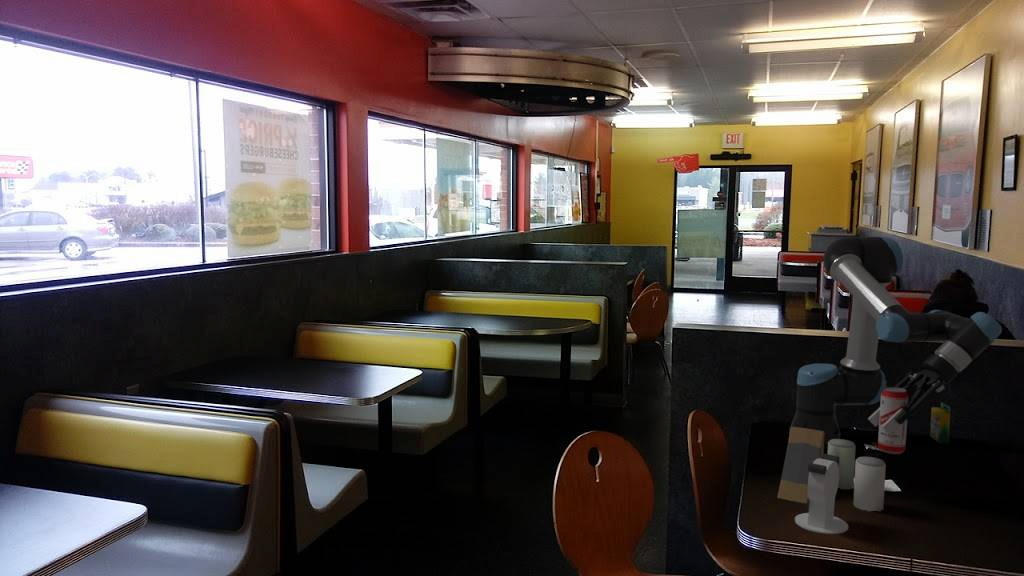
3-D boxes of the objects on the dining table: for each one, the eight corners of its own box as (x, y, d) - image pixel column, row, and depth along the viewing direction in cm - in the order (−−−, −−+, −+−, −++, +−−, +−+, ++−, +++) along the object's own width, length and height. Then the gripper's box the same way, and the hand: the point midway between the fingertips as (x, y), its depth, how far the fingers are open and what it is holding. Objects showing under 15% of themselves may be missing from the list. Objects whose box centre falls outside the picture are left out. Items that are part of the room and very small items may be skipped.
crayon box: (929, 436, 245) (931, 401, 244) (939, 437, 245) (941, 401, 244) (938, 443, 238) (941, 407, 237) (949, 443, 237) (951, 407, 236)
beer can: (882, 445, 198) (886, 385, 196) (908, 451, 193) (912, 389, 191) (873, 450, 193) (877, 389, 192) (899, 456, 189) (903, 393, 187)
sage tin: (821, 480, 203) (823, 438, 202) (846, 480, 203) (848, 438, 202) (833, 489, 196) (835, 446, 195) (858, 489, 196) (860, 446, 195)
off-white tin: (848, 501, 188) (850, 456, 187) (874, 501, 188) (877, 456, 187) (861, 511, 181) (864, 464, 180) (888, 511, 182) (891, 464, 180)
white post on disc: (805, 509, 182) (808, 448, 181) (855, 521, 175) (858, 458, 174) (787, 524, 173) (790, 460, 172) (839, 538, 166) (842, 471, 165)
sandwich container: (775, 498, 190) (778, 440, 189) (788, 480, 203) (790, 425, 202) (812, 505, 186) (814, 445, 184) (822, 486, 199) (824, 430, 197)
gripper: (980, 382, 182) (909, 448, 183) (933, 365, 201) (869, 425, 202) (959, 360, 181) (888, 427, 182) (915, 346, 200) (850, 406, 201)
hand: (878, 426), depth 192 cm, fingers closed on beer can, 6 cm apart
